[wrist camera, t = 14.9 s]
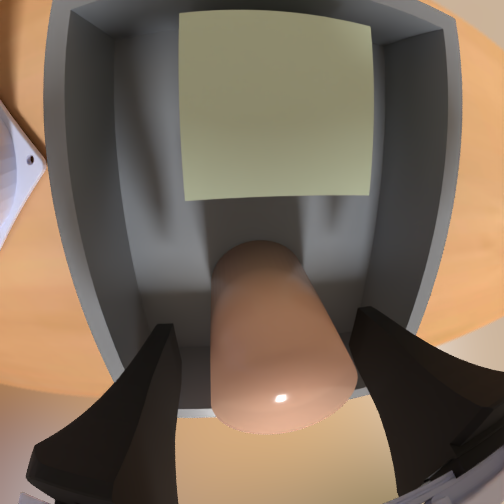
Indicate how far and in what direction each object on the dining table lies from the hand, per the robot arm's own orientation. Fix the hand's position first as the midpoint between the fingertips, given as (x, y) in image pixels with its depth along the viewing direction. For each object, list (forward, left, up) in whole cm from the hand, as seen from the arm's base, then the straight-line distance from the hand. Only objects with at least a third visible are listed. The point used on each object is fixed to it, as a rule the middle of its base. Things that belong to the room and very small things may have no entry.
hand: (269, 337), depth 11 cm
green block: (-6, +5, -4) cm, 9 cm away
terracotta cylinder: (0, 0, -4) cm, 4 cm away
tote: (-3, +3, -5) cm, 6 cm away
